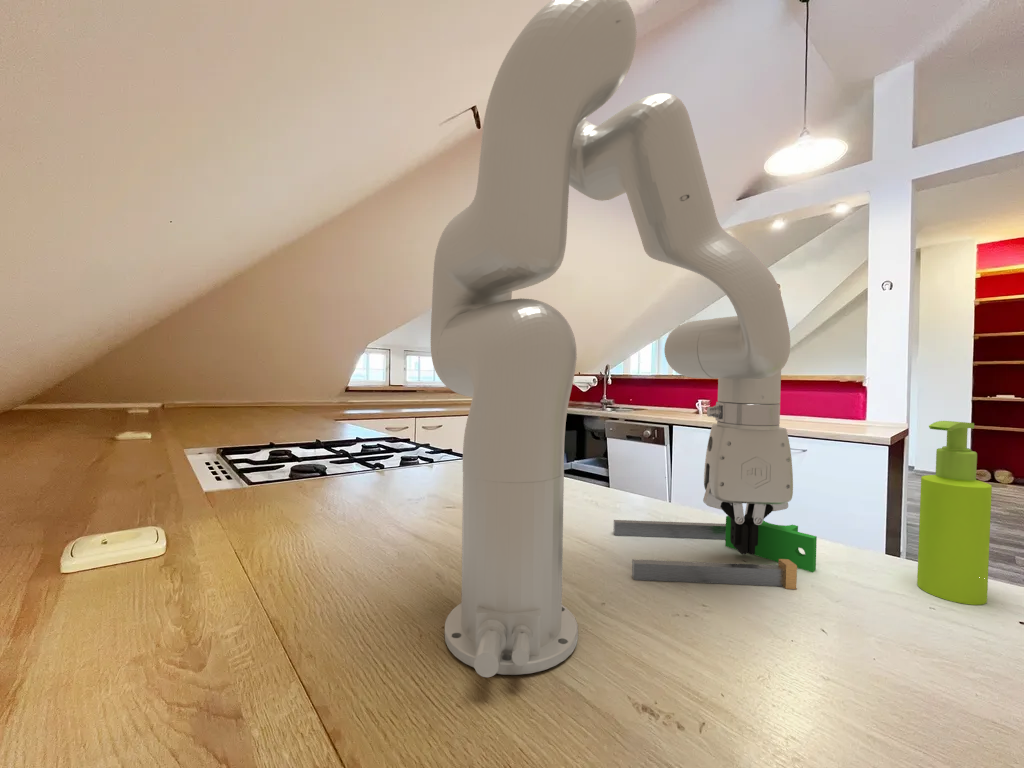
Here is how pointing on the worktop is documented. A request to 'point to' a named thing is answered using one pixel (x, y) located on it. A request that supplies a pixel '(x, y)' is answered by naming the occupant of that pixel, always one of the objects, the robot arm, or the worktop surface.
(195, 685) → the worktop surface
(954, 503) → the soap dispenser
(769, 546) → the green block
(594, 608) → the worktop surface
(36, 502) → the worktop surface
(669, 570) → the chute
